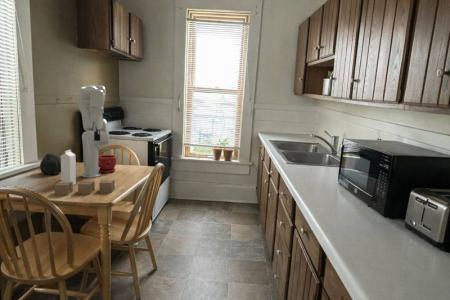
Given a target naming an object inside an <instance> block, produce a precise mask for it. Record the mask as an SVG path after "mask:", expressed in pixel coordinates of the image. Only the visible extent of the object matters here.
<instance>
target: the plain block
mask: <svg viewBox="0 0 450 300" xmlns="http://www.w3.org/2000/svg"><path fill="white" fill-rule="evenodd" d="M95 182H96V181H95V180H81V181H80V182H78V183H77V190H78V191H77V195H78V194H79V195H91V194H93V192H95V190H96V188H95V187H96V183H95Z"/></svg>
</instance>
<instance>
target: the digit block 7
mask: <svg viewBox="0 0 450 300" xmlns="http://www.w3.org/2000/svg"><path fill="white" fill-rule="evenodd" d="M98 183H99V184H98V185H99V188H98V190H99V193H113V192H114V190H115V187H116V186H115V185H116V183H115V179H102V180H100V182H98Z"/></svg>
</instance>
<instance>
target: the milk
mask: <svg viewBox="0 0 450 300" xmlns="http://www.w3.org/2000/svg"><path fill="white" fill-rule="evenodd" d="M60 159H61V172H60V178H61V182H73V186H74V185H76V184H77V171H76V168H77V167H76V166H77V163H76V154H75V153H74V152H72V149H67V150H65V151H64V153H63V154H61V155H60Z"/></svg>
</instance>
